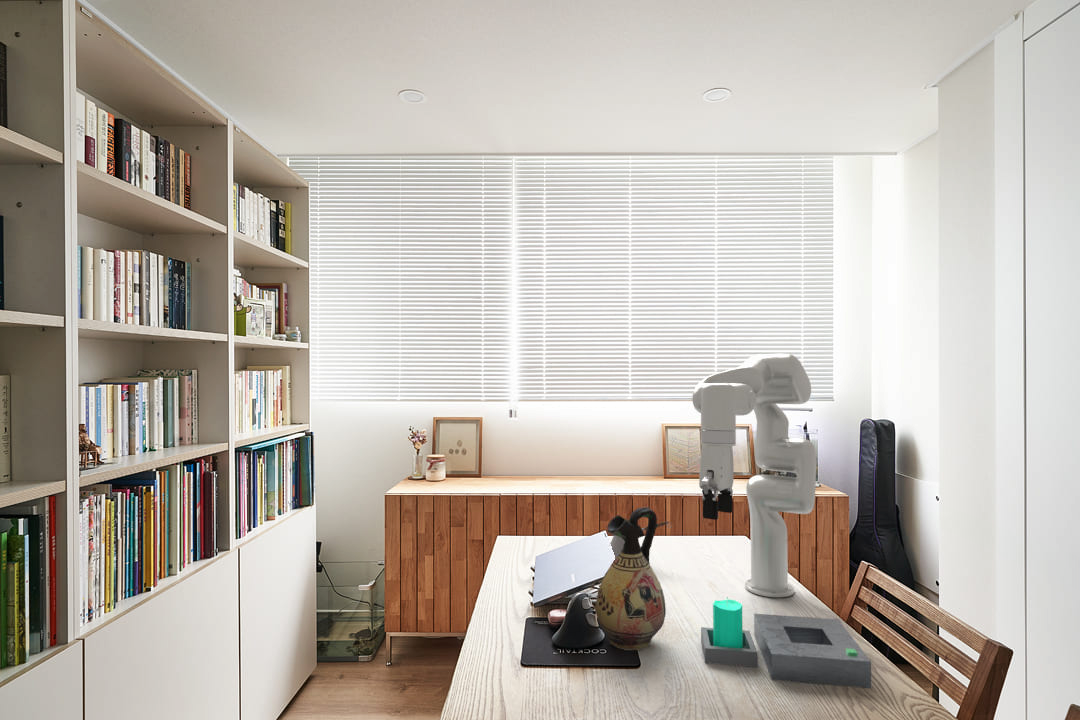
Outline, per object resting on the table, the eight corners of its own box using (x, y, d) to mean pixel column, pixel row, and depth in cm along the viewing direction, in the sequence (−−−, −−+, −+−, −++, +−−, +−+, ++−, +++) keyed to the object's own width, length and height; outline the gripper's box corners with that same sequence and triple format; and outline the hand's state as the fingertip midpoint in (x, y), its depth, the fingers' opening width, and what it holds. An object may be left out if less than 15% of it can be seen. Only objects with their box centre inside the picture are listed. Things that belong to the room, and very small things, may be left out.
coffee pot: (600, 563, 189) (600, 515, 190) (618, 554, 198) (617, 509, 199) (662, 576, 176) (662, 525, 177) (678, 566, 186) (677, 517, 186)
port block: (754, 635, 136) (754, 611, 136) (838, 641, 133) (838, 616, 133) (771, 679, 117) (771, 651, 117) (871, 688, 113) (870, 659, 113)
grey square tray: (701, 640, 134) (700, 627, 134) (749, 644, 132) (749, 630, 132) (705, 662, 124) (705, 648, 124) (757, 667, 122) (757, 652, 122)
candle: (742, 649, 130) (742, 593, 130) (742, 661, 124) (742, 603, 124) (714, 645, 132) (713, 590, 132) (712, 657, 126) (712, 600, 126)
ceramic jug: (620, 665, 123) (619, 518, 123) (583, 635, 137) (583, 504, 137) (686, 648, 130) (685, 510, 131) (645, 622, 144) (644, 497, 145)
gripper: (714, 435, 143) (714, 507, 142) (687, 439, 129) (687, 519, 128) (746, 437, 139) (746, 511, 138) (722, 441, 125) (721, 524, 124)
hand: (717, 515), depth 133 cm, fingers open, 9 cm apart
